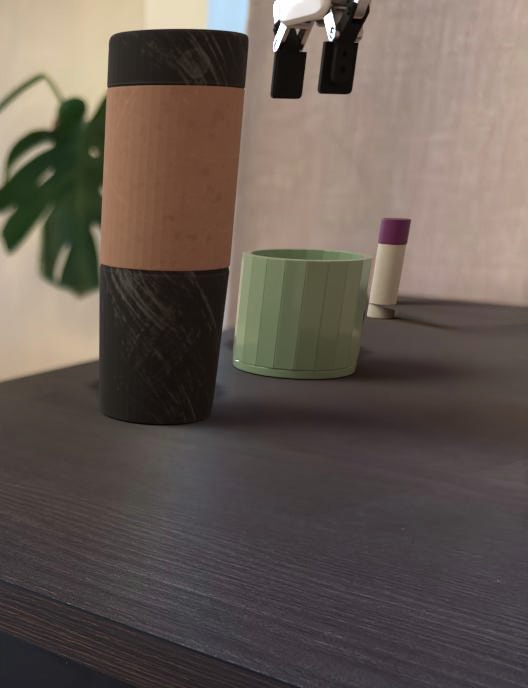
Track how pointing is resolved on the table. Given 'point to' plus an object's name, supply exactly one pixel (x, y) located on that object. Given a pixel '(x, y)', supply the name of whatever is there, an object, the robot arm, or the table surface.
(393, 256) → the glue stick
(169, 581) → the table surface
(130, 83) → the travel mug
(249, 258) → the cup
